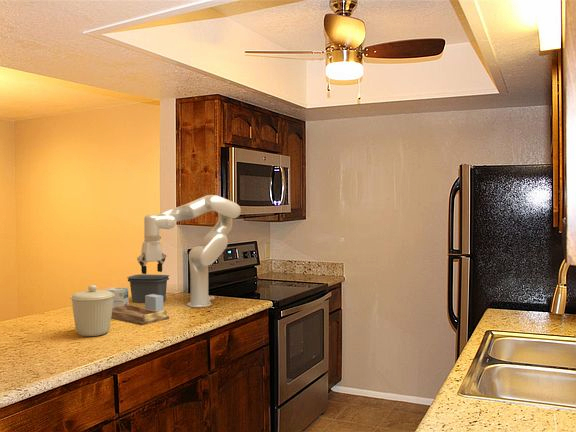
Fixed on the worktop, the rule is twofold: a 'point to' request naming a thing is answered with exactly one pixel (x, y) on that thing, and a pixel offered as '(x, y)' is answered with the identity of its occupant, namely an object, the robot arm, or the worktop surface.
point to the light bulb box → (119, 296)
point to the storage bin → (147, 286)
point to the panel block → (154, 302)
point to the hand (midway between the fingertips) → (152, 272)
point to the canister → (92, 311)
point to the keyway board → (138, 314)
